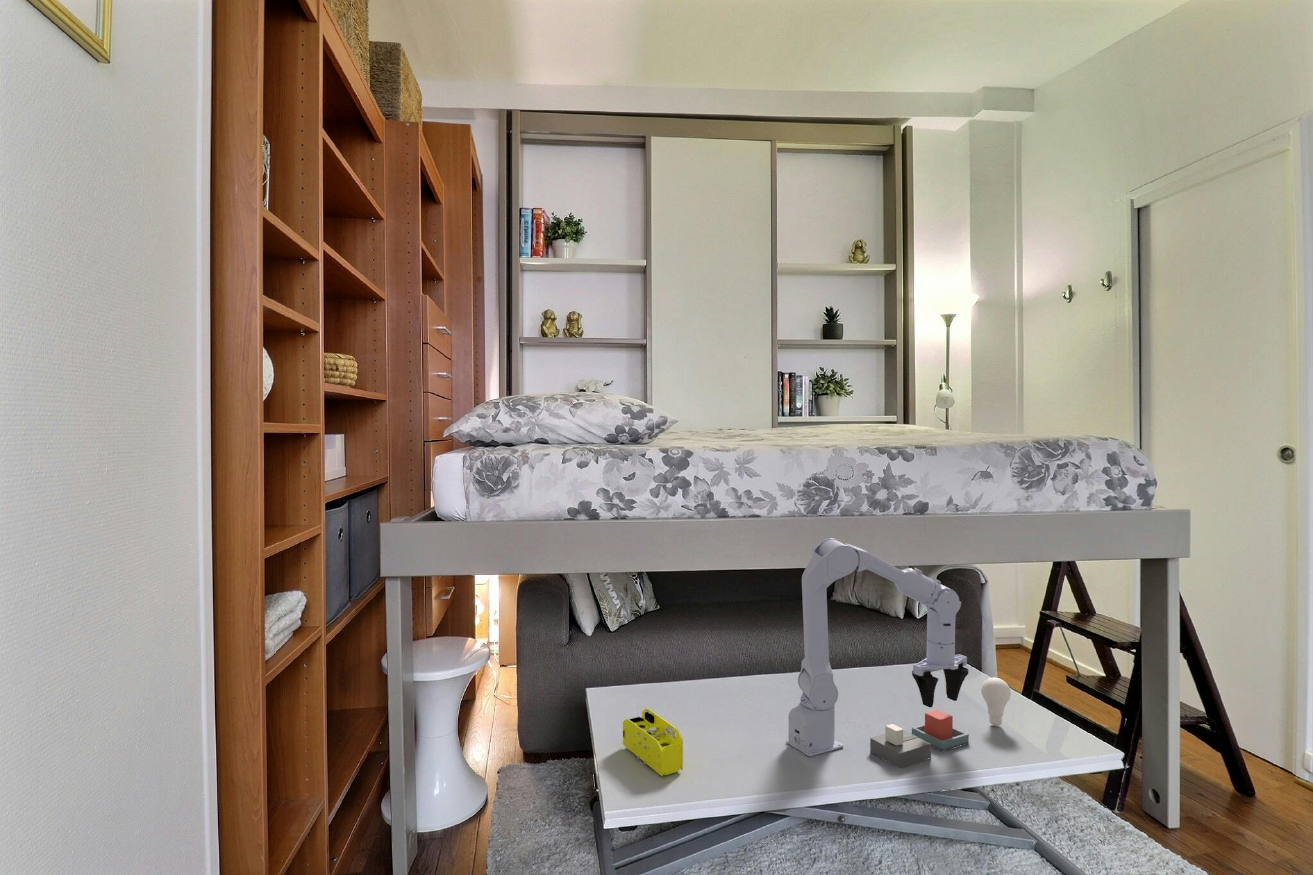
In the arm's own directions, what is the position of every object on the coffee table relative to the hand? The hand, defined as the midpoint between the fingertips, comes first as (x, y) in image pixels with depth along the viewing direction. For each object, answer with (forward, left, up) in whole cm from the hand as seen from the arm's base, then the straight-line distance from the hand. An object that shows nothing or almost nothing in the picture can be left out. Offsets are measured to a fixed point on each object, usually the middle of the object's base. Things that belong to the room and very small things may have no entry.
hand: (939, 702), depth 157 cm
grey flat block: (-13, -1, -8) cm, 15 cm away
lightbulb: (+17, -1, -9) cm, 19 cm away
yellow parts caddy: (-59, +22, -9) cm, 64 cm away
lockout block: (0, 0, -8) cm, 8 cm away
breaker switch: (-15, -1, -5) cm, 16 cm away
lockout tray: (0, 0, -8) cm, 8 cm away
